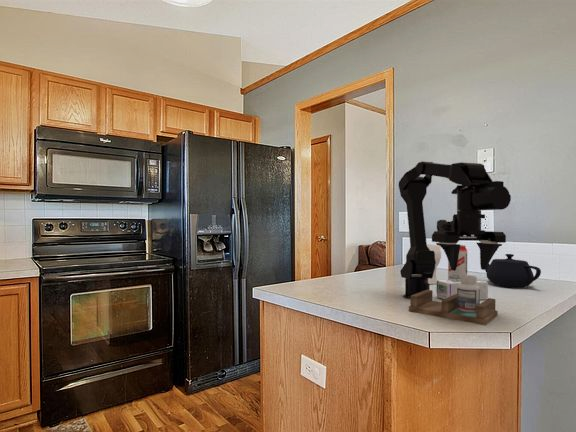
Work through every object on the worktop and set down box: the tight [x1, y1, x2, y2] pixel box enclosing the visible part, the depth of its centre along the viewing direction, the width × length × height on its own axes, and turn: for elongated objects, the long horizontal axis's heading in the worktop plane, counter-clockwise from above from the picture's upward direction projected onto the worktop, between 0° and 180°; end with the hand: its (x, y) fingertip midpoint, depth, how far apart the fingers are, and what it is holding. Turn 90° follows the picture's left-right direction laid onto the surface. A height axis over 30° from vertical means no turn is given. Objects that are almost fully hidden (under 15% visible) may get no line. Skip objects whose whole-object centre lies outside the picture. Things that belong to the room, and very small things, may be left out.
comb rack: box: [408, 289, 498, 326], centre depth 96 cm, size 19×12×4 cm, turn 48°
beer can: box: [447, 244, 468, 280], centre depth 128 cm, size 6×6×16 cm
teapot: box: [484, 253, 542, 289], centre depth 140 cm, size 25×16×12 cm, turn 21°
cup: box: [416, 243, 442, 285], centre depth 144 cm, size 11×11×15 cm
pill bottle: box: [457, 274, 481, 313], centre depth 94 cm, size 5×5×9 cm
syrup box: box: [435, 279, 489, 301], centre depth 114 cm, size 6×6×14 cm
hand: (468, 270), depth 94 cm, fingers open, 9 cm apart
